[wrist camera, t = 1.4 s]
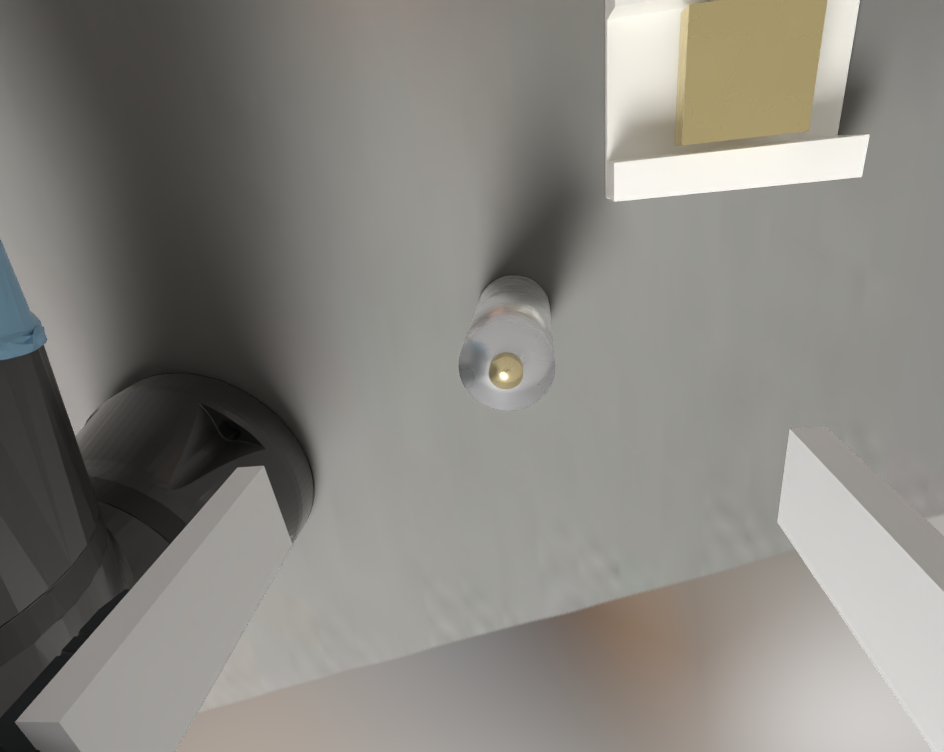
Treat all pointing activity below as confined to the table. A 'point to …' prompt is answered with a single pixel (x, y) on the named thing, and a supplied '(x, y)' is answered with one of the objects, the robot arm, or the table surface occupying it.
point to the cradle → (724, 162)
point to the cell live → (509, 345)
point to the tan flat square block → (747, 68)
